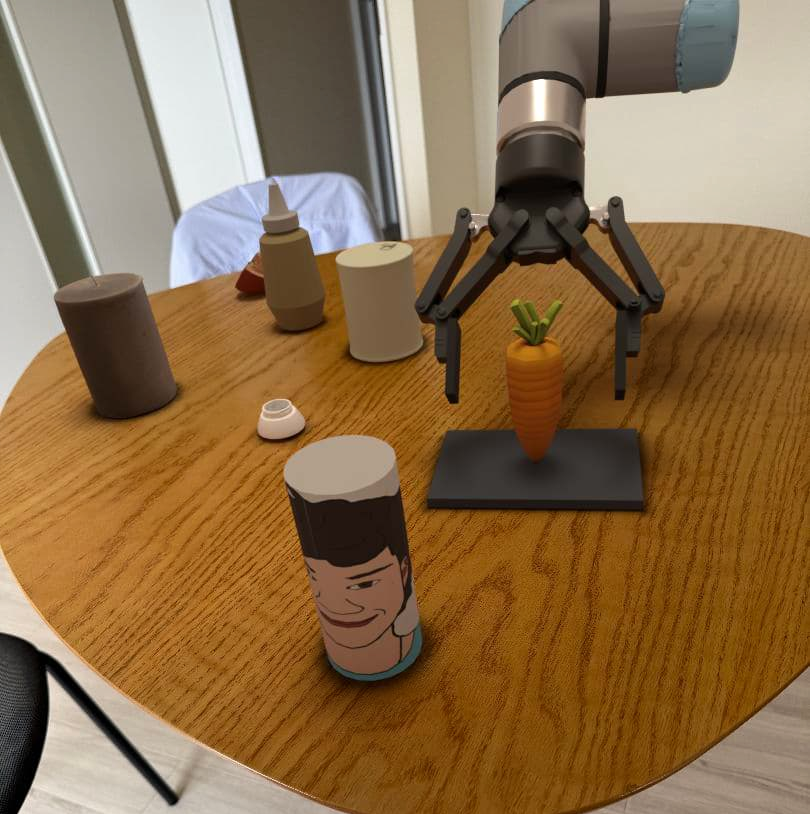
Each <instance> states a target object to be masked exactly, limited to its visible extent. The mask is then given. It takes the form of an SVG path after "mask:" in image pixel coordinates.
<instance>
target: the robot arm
mask: <svg viewBox="0 0 810 814" xmlns="http://www.w3.org/2000/svg"><path fill="white" fill-rule="evenodd" d="M740 7H741V5H740V0H504V2H503V5H502V12H501V13H502V15H501V25H500V26H501V27H500V33H499V35H498V79H497V80H498V85H497V87H498V90H497V91H498V92H497V111H496V114H497V115H496V143H495V144H496V146H495V154H496V160H495V172H494V173H495V174H494V175H495V178H494V201H493V207H492V209H491V211H490V213H489V214H487V213H486V214H485V213H483V214H481V213H471V210H470V208H468V207H464V206H463V207H461V208H459V209H458V210H457V212H456V216H455V222H454V229H453V232H452V235H451V236H450V238H449V240H448V242H447V244H446V245H445V247H444V249H443V251H442V253H441V255H440V256H439V259H438V260H437V262H436V264H435V266H434V267H433V270H432V271H431V273H430V275H429V277H428V279H427V280H426V282H425V284H424V285H423V287H422V289H421V291H420V293H419V295H418V296H417V300H416V302H415V305H414V307H415V310H416V312H417V314H418V316H419V320H420V323H422V324H425V325H428V324H429V325H433V326H434V327H435V328H434V346H433V347H434V352H433V353H434V355H435V358H436V360H437V362H438V364H440V365H442V364H445V379H444V380H445V381H444V382H445V383H444V395H445V397H446V399H447V401H448V403H449V405H459V404H460V379H461V378H460V377H461V375H460V374H461V357H462V329H461V326H460V323H459V320H460V319H461V318H462V317H463V316H464V314H465V313H466V312H467V311H468V310H469V309H470V308H471V307H472V305H473V304H474V303H475V302H476V301H477V299H479V298H480V296H481V295H482V294H483V293H484V292H485V290H486V289H487V288H488V287H489V286H490V285H491V284H492V283H493V282H494V280H495V279H496V278H497V277H498V276H499V275H501V274H503V273H505V272H506V270H507V269H508V268H509V267H510V266H511V265H512V263H515V264H517V265H519V267H529V266H532V265H536V264H542V265H546V266H547V265H548V266H549V265H550V266H551V265H557V262H560V261H561V260H563V259H565V261H566V262H568V264H569V265H570V266H571V267H572V268H573V269H574V270H577V271H578V272H580V273H581V275H583V276H584V278H585V279H586V280H587V281H588V282H589V283H590V284H591V285H592V286H593V287H594V288H595V289H596V290H597V292H598V293H599V294H601V295H602V297H603V298H604V299H605V300H606V301H607V302H608V303H609V304H610V305H611V306H612V307H613V309H615V310H616V315H615V323H614V325H615V326H614V395H613V396H614V401H615V402H616V401H625V396H626V392H627V359H628V358H629V359H631V358H638V356H639V354H640V351H641V347H642V319H643V318H644V317H647V315H651V314H652V315H656V314H659V313H660V312H661V311H662V309H663V306H664V301H665V298H666V291H665V288H664V287H663V285H662V283H661V281H660V279H659V278H658V276H657V274H656V273H655V271H654V269H653V267H652V266H651V263H650V262H649V260H648V258H647V256H646V255H645V253H644V251H643V250H642V248H641V246H640V244H639V243H638V240H637V239H636V237H635V236H634V233H633V231H632V230H631V228H630V226H629V224H628V223H627V221H626V216H625V209H624V208H625V207H624V200H623V199H622V197H620V196H618V195H613V196H611V197H610V198H609V199H608V201H607V204H600V205H595V206H589V205H588V203H587V202H586V199H585V190H586V189H585V186H586V184H585V182H586V180H585V179H586V156H585V151H586V123H587V122H586V121H587V100H588V99H604V98H609V97H622V96H638V95H640V96H641V95H654V94H664V93H665V94H667V93H668V94H669V93H681V94H682V95H683V94H684V95H685V94H688V93H690V92H692V91H698V90H705V89H714V88H717V87H719V86H721V85H722V84H723V83H725V82H726V80H727V79H728V77H729V76H730V73H731V71H732V68H733V64H734V61H735V55H736V50H737V43H738V37H739V28H740V13H741V12H740V10H741V9H740ZM590 225H595V226H596V227H597V229H598V231H599V232H600V233H601V234H602V235H608V239H609V242H610V244H611V247H612V249H613V250H614V252H615V254H616V256H617V258H618V260H619V261H620V263H621V265H622V267H623V269H624V270H625V272H626V274H627V276H628V278H629V279H630V281H631V284H633V286H634V288H635V290H636V292H637V293H636V292H635V291H634V290H633V289H632V288H631V287H630V286H629V285H628V284H627V282H625V281H624V279H622V278H621V277H620V276H619V274H618V273H616V272H615V270H613V268H612V267H611V266H610V265H609V264H608V263H607V262H606V261H605V260H604V259H603V258H602V257H601V256H600V255H599V254H598V253H597V252H596V251H595V249H594V248H592V247H591V245H590V244H589V242H588V241H589V240H587V238H586V237H585V236H584V233H585V232H586V231H587V229H588V228H589V226H590ZM485 232H489V233H490V235H491V236H492V238H493V239H492V241H490V243H489V244H488V246H487V248H486V250H485V252H484V254H483V255H482V256H481V257H480V258H479V259H478V260H477V261H476V263H475V264H474V265H473V266H472V267H471V268H470V269H469V271H468V272H467V273H466V274H465V275H464V276H463V278H462V279H460V281H459V282H457V284H456V285H455V286H454V288H453V289H452V290H451V291H450V292H449V290H450V289H451V287H452V285H453V283H454V281H455V279H456V278H457V276H458V274H459V272H460V271H461V269H462V267H463V266H464V263H465V262H466V259H467V258H468V255H469V254H470V252H471V249H472V244H473V243H474V244H476V243H477V242H478V241H479V240H480V239H481V236H482V234H484V233H485ZM448 292H449V293H448Z"/></svg>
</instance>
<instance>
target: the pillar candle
mask: <svg viewBox="0 0 810 814" xmlns="http://www.w3.org/2000/svg"><path fill="white" fill-rule="evenodd" d="M143 280H144V277H143V276H142V275H140V274H137V273H136V274H135V273H133V272H132V273H130V272H118V273H116V272H113V273H106V274H98V275H93V274H90V276H89V277H86V278H83V279H80V280H77V281H73V282H71V283H69V284H66V285H65V286H63V287H61V288H59V289H57V290H56V292H54V294H53V301H54V303H55V307H56V310H57V312H58V314H59V317H60V320H61V323H62V325H63V328H64V329H65V333H66V335H67V337H68V341H69V343H70V346H71V349H72V351H73V354H74V356H75V359H76V362H77V364H78V366H79V369H80V371H81V375H82V376H83V379H84V381H85V384H86V387H87V389H88V391H89V394H90V397H91V399H92V401H93V404H94V406H95V409H96V412H97V413H98V415H101V416H103V417H106V418H113V419H127V418H128V419H129V418H132V417H136V416H141V415H144V414H149V413H150V412H153V411H156V410H158V409H160V408H162V407H164V406H165V405H167V404H168V403H170V402H171V401H172V400H173V399H174V398H175V397H176V395H177V393H178V388H177V384H176V380H175V378H174V375H173V371H172V368H171V365H170V362H169V358H168V355H167V352H166V348H165V347H164V344H163V340H162V337H161V334H160V331H159V327H158V324H157V320H156V318H155V315H154V312H153V309H152V305H151V303H150V300H149V297H148V293H147V291H146V287H145V285H144V282H143Z"/></svg>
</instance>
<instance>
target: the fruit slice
mask: <svg viewBox="0 0 810 814" xmlns="http://www.w3.org/2000/svg"><path fill="white" fill-rule="evenodd" d="M234 288H235V289H236V290H238V291H239V292H241V293H243V294H249V295H255V294H256V295H257V294H260V293H263V292H265V285H264V276H263V268H262V260H261V252H260V251H259V252H258V251H257V252H256V253H255V254H254V256H253V257H252V258H251V260H250V261H248V262H247V263H246V265H245V266H244V267H243V270H242V271H241V272H240V275H239V277H238V279H237V281H236V282H235V285H234Z"/></svg>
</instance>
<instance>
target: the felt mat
mask: <svg viewBox="0 0 810 814" xmlns="http://www.w3.org/2000/svg"><path fill="white" fill-rule="evenodd" d="M443 438H444V439H443V442H442V444H441V449H440V452H439V457H438V459H437V462H436V466H435V470H434V473H433V476H432V480H431V483H430V486H429V490H428V493H427V496H426V503H427V508H433V509H434V508H435V509H436V508H437V509H438V508H442V509H443V508H445V509H446V508H447V509H522V510H523V509H525V510H526V509H529V510H530V509H531V510H532V509H533V510H534V509H535V510H608V511H609V510H611V511H612V510H614V511H615V510H617V511H618V510H620V511H627V510H628V511H643V510H644V503H645V499H644V490H643V479H642V478H643V477H642V466H641V457H640V456H641V455H640V445H639V434H638V428H637V427H630V428H629V427H628V428H627V427H623V428H621V427H619V428H618V427H617V428H614V427H613V428H611V427H610V428H556V431H555V434H554V436H553V439H552V441H551V443H550V446H549V447H548V449H547V450H546V452H545V454H544V455H543V457H542V458H541V459H540V460H538V461H537V462H534V461H533V460H531V459H530V458H529V457H528V455H527V454H526V452H525V451H524V449H523V448H522V445H521V443H520V441H519V439H518V437H517V434H516V430H515V428H514V429H446V431H445V435H444V437H443Z"/></svg>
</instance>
